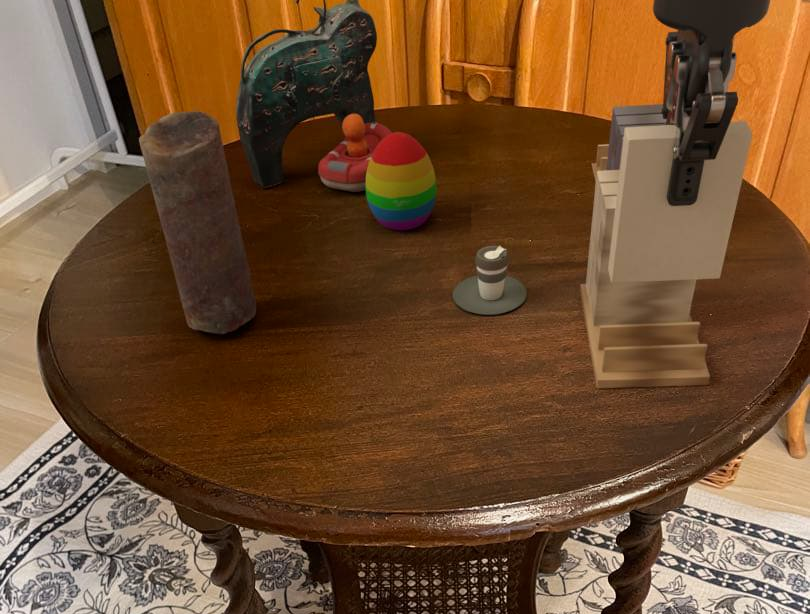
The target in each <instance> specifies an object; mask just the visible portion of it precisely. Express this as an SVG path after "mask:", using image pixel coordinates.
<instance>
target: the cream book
mask: <svg viewBox="0 0 810 614" xmlns="http://www.w3.org/2000/svg"><path fill="white" fill-rule="evenodd" d="M676 128H677V127H676V126H675V125H663V126H644V127H626V128H625V130H624V139H623V147H622V156H621V164H620V172H619V181H618V189H617V198H616V206H615V215H614V223H613V231H612V240H611V248H610V257H609V265H608V271H609V275H610V280H611V283H622V282H646V281H670V280H695V279H697V280H713V279H714V280H715V279H716V280H718V279H720V278H721V275H722V270H723V266H724V262H725V258H726V253H727V250H728V249H727V248H728V244H729V239H730V235H731V231H732V227H733V221H734V219H735V218H734V217H735V214H736V210H737V209H736V208H737V204H738V200H739V196H740V192H741V187H742V183H743V179H744V178H743V177H744V174H745V169H746V165H747V160H748V155H749V152H750V147H751V143H752V138H753V132H752V130H751V128H750V125H749V124H748V122H747V120H739V121H731V122H730V124H729V127H728V129H727V132H726V134H725V137H724V139H723V142H722V144H721V146H720V149H719V151H718V154H717V156H716V159H715V160H705V161H704V166H703V171H702V176H701V182H700V187H699V192H698V197H697V201H696V202H695V203H694V204H692V205H685V206H671V205H669V203H668V200H667V192H668V185H669V179H670V173H671V167H672V161H673V153H672V150H673V147H674V142H675V135H676Z"/></svg>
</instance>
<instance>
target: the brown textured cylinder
mask: <svg viewBox="0 0 810 614" xmlns="http://www.w3.org/2000/svg"><path fill="white" fill-rule="evenodd" d="M138 142H139V146H140V151H141V154H142V158H143V162H144V165H145V169H146V172H147V177H148V180H149V184H150V188H151V191H152V195H153V198H154V202H155V207H156V210H157V213H158V217H159V221H160V224H161V228H162V231H163V235H164V239H165V244H166V247H167V250H168V255H169V258H170V262H171V266H172V270H173V274H174V278H175V281H176V285H177V290H178V293H179V298H180V301H181V305H182V309H183V311H184V312H183V313H184V316H185V320H186V323H187V326H188V328H190V329H192V330H194V331H202V332H205V333H210V334H217V335H219V334H220V335H226V334H227V333H231V332H234V331H236V330H238V329H239V328H240V327H241V326H243V325H245V324H246V323H248V322H250V321H251V320H252V319H253V318H254V317H256V313H257V303H256V297H255V292H254V288H253V282H252V277H251V273H250V268H249V263H248V259H247V253H246V249H245V243H244V240H243V236H242V232H241V231H242V230H241V227H240V222H239V217H238V212H237V208H236V203H235V198H234V193H233V189H232V183H231V178H230V173H229V168H228V164H227V157H226V153H225V149H224V148H225V147H224V144H223V140H222V134H221V129H220V124H219V122H218V119H216V118H215V117H213V116H212V115H210V114H207V113H206V112H202V111H199V110H193V111H181V112H180V111H176V112H171V113H170V114H167V115H164V116H163V117H161V118H159V119H158V120H155V121H154V122H152V123H151V124H150V125H148V127H147V128H146V129H145V132H144V134H142V135H141V136H139V137H138Z"/></svg>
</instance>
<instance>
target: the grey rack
mask: <svg viewBox="0 0 810 614" xmlns="http://www.w3.org/2000/svg"><path fill="white" fill-rule="evenodd" d="M662 107H663V103H656V104H637V105H622V106H621V105H620V106H613V107H612V111H611V112H612V113H611V120H610V130H609V140H608V143H607V144H604V143H603V144H598V145H597V153H596V159H595V162H591V168H592V172H593V177H594V180H595V182H596V176H597V171H605V170H620V164H621V156H622V147H623V139H624V130H625V128H626V127H644V126H663V125H666V120H667V119H663V114H662Z"/></svg>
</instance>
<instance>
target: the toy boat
mask: <svg viewBox="0 0 810 614" xmlns="http://www.w3.org/2000/svg"><path fill="white" fill-rule="evenodd" d="M341 130H342V133H343V136H344V135H345V136H346V138H345V136H344V139H343V140H342V141H341V142H340V143H339V144H338V145H337V146H336V147H335V148H333V149H332V150H331V151H330V152H328V154H326V155H325V156H324V157H322V159H320V161H319V163H318V171H317V173H318V176H319V177H320V180H321V183H323V184H324V185H325V186H326V187H328V188H330V189H333V190H340V191H345V192H350V193H361V192H364V191H366V173H367V168H368V164H369V161H370V158H371V156H372V153H373V152H374V150H375V148H376V147H377V145H378V144H379V143H380V142H381V140H382V139H383V138H385V137H386V136H387V135H389V134H391V133H393V132H392V131H391V130H390V129H389V127H387V126H386V125H384V124H382V123H380V122H375V123H366V124H364V122H363V119H362V118H361V116H360V115H358V114H350V115H348V116H347V117H346V118H345V119H344V121H343V124H342V128H341Z"/></svg>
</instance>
